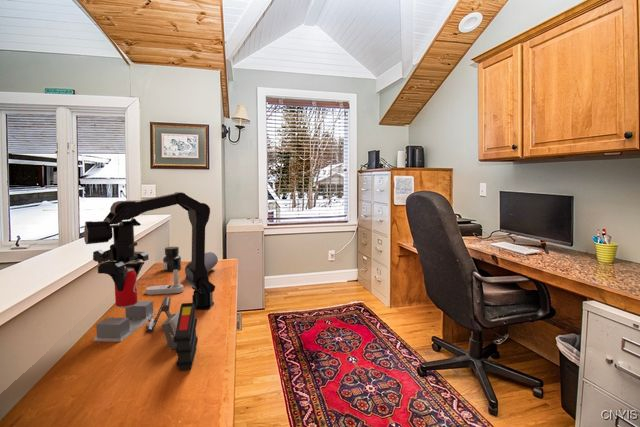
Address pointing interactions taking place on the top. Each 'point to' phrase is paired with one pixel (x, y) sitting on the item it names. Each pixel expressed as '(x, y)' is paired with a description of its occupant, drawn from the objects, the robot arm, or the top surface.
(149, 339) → the top surface
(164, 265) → the ink bottle
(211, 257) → the bluetooth speaker
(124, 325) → the mounted modules
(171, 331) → the electrical switch
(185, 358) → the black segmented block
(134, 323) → the rail
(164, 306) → the portable electronic device stand
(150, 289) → the electronic device
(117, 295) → the beverage can
